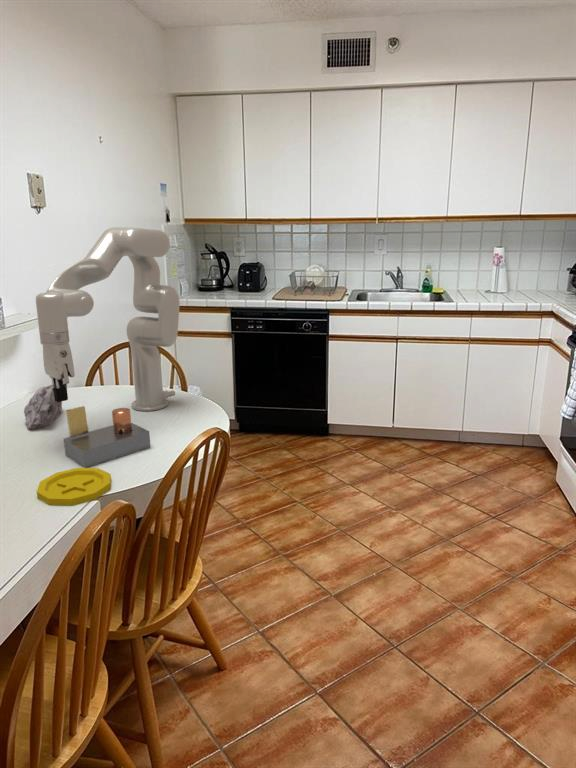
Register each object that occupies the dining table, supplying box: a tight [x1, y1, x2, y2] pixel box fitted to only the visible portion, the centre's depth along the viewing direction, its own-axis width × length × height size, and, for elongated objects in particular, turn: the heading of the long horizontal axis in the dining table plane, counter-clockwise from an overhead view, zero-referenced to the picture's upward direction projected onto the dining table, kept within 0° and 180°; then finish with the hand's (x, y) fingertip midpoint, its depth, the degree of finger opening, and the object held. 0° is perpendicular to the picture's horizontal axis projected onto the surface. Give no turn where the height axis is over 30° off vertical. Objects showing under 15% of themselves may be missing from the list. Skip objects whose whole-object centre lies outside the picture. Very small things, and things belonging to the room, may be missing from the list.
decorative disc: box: [36, 467, 112, 506], centre depth 141 cm, size 17×18×2 cm
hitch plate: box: [63, 422, 151, 468], centre depth 162 cm, size 20×12×5 cm, turn 134°
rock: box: [23, 384, 63, 430], centre depth 186 cm, size 22×10×15 cm, turn 7°
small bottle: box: [111, 407, 132, 434], centre depth 165 cm, size 5×5×10 cm
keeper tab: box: [65, 405, 90, 437], centre depth 159 cm, size 8×5×1 cm
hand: (61, 400), depth 163 cm, fingers closed
